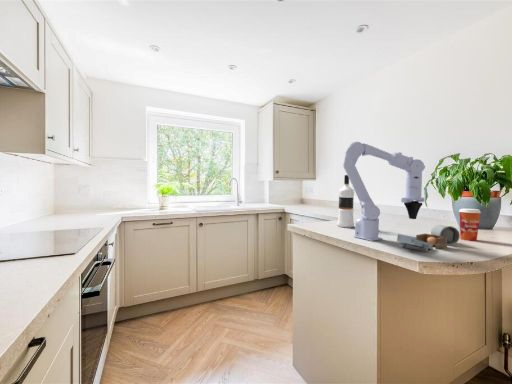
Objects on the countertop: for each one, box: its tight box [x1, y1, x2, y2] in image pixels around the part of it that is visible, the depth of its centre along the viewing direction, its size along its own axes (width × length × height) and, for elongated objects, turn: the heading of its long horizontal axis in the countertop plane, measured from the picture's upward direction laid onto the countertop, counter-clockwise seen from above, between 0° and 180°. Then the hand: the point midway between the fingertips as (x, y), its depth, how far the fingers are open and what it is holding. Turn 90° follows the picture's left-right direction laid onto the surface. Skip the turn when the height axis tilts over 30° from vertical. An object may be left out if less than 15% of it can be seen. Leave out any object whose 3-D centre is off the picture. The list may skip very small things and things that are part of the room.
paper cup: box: [458, 208, 482, 242], centre depth 111 cm, size 8×8×14 cm
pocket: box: [415, 233, 448, 250], centre depth 99 cm, size 8×7×4 cm
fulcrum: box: [402, 243, 429, 253], centre depth 93 cm, size 8×2×3 cm, turn 30°
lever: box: [396, 233, 434, 250], centre depth 95 cm, size 12×14×3 cm
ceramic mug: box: [430, 224, 461, 246], centre depth 105 cm, size 11×8×8 cm
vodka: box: [336, 174, 355, 229], centre depth 142 cm, size 9×9×30 cm
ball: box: [427, 237, 435, 247], centre depth 99 cm, size 4×4×4 cm
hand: (412, 218), depth 106 cm, fingers closed
